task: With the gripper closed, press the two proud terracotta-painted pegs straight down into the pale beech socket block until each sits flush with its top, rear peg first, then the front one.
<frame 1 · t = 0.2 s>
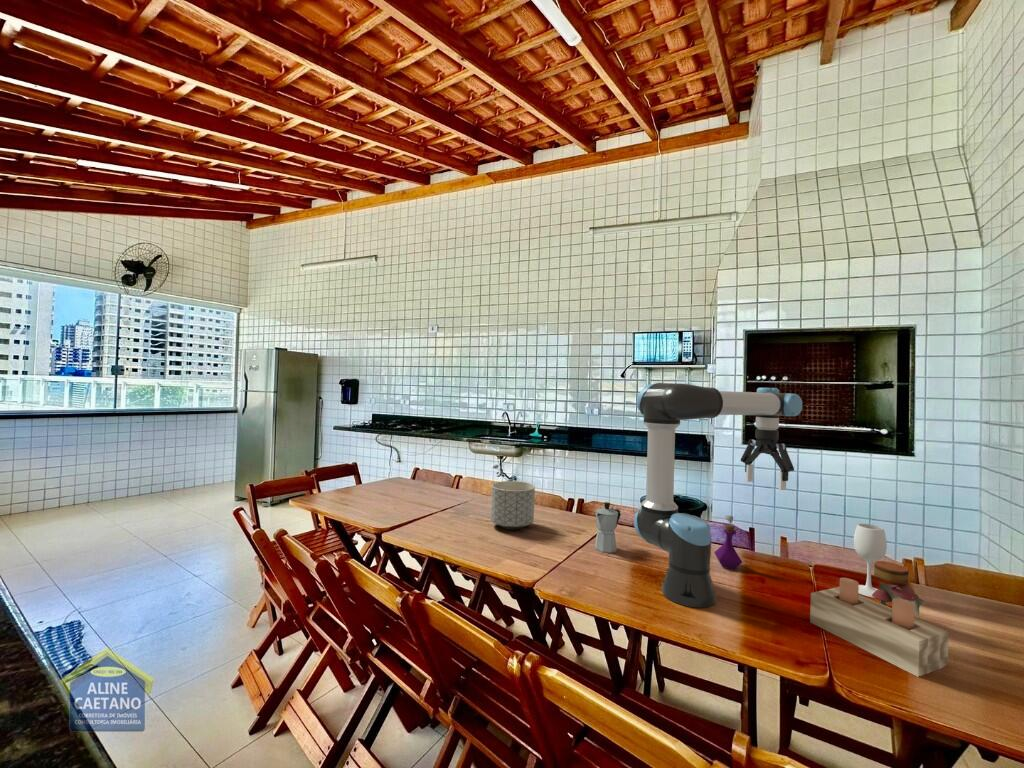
hand: (765, 485, 164), 28 cm above the table, fingers open, 13 cm apart
socket block: (873, 642, 111), on the table
front peg: (902, 616, 106), point 9 cm above the table, slide at 5.0 cm
wineglass: (868, 592, 140), on the table
coffee maker: (607, 548, 171), on the table
planter: (512, 527, 194), on the table
rear peg: (848, 594, 117), point 10 cm above the table, slide at 5.0 cm
perfume bottle: (727, 566, 157), on the table
toy burger: (892, 620, 123), on the table
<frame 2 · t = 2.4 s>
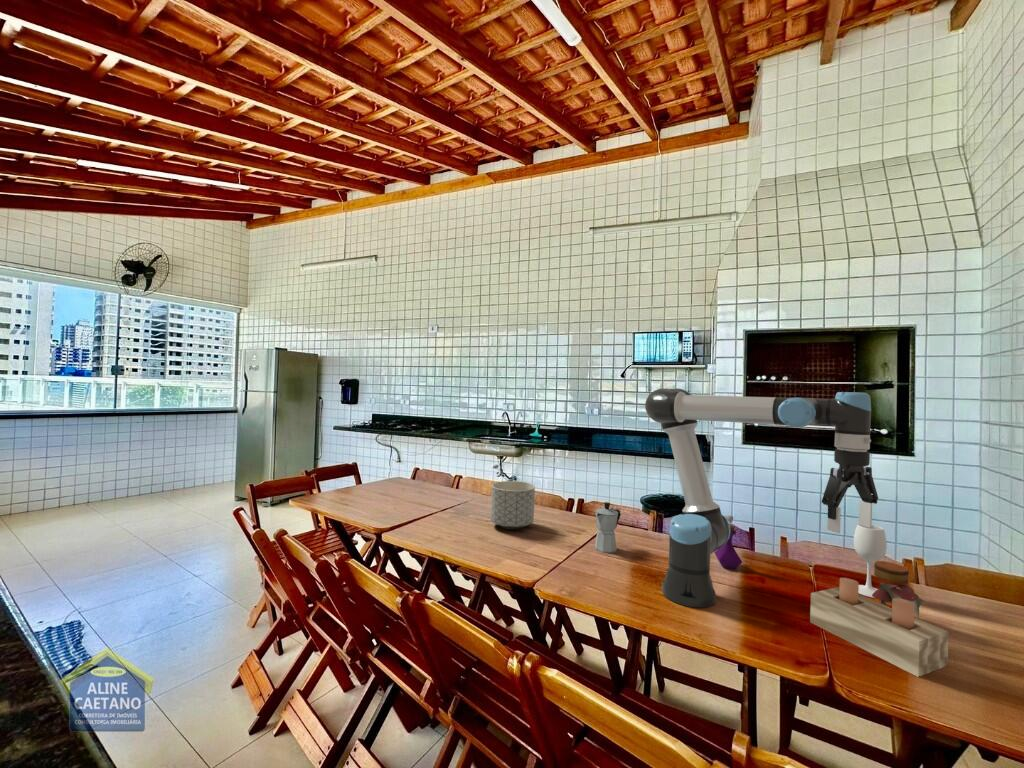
hand: (849, 528, 117), 27 cm above the table, fingers open, 13 cm apart
nothing on the table moved.
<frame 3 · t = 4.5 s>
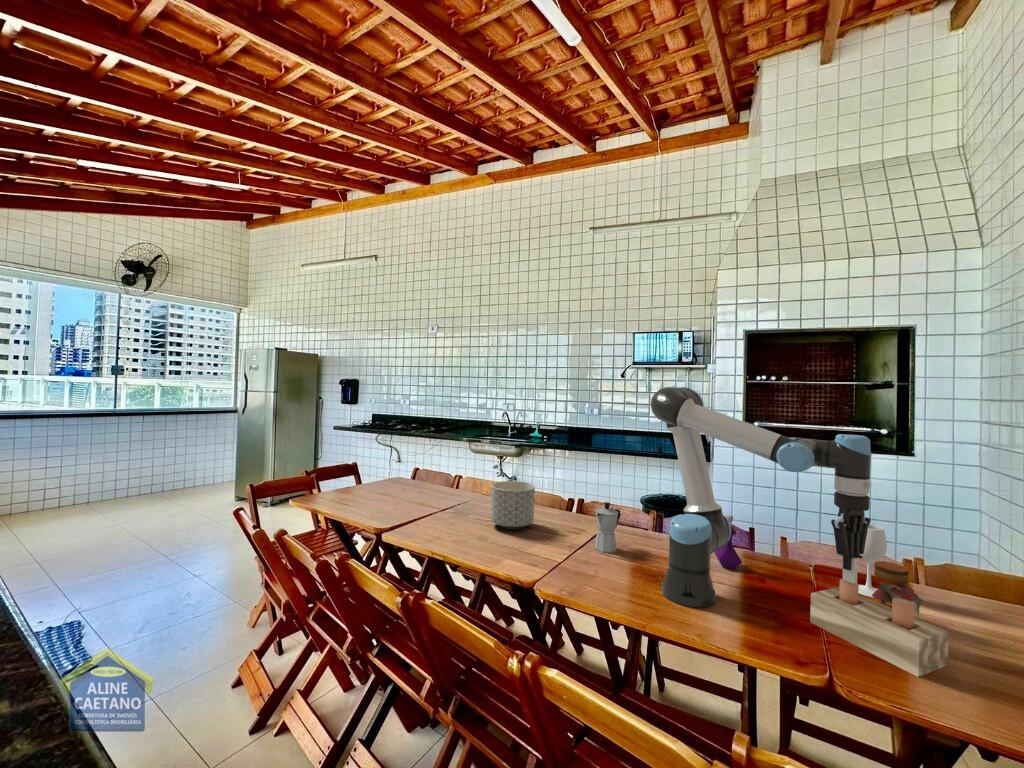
hand: (849, 581, 117), 13 cm above the table, fingers closed
rear peg: (848, 595, 117), point 9 cm above the table, slide at 4.7 cm, touching gripper
everything else where it was.
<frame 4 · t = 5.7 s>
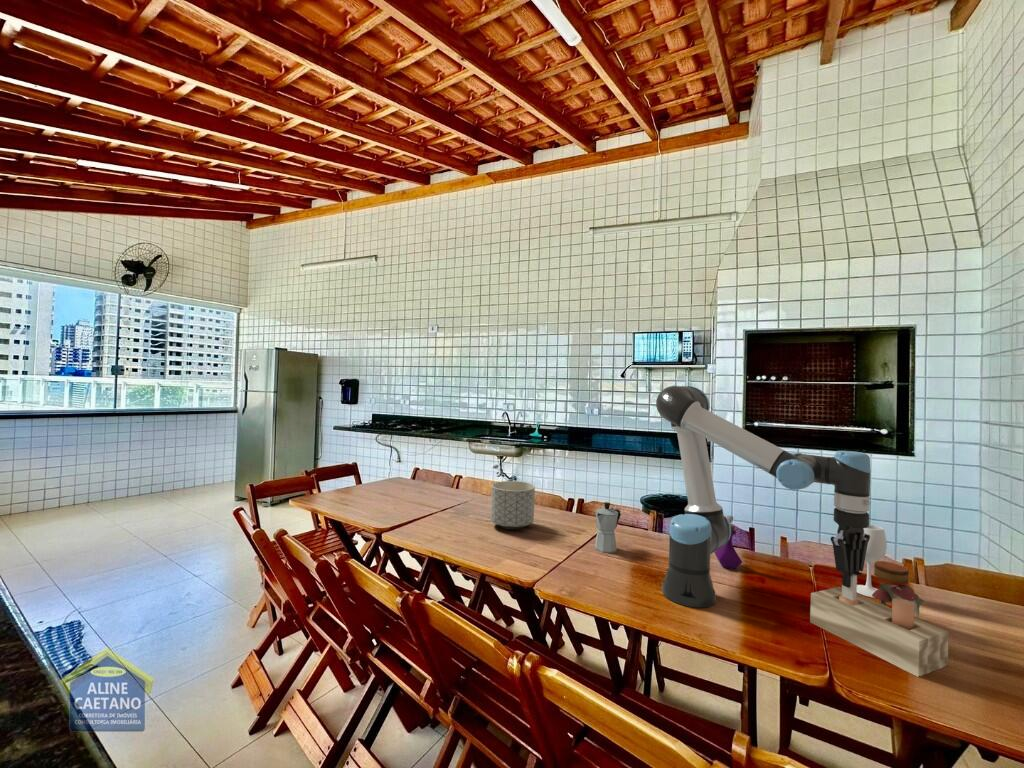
hand: (849, 598, 117), 8 cm above the table, fingers closed
rear peg: (848, 612, 117), point 5 cm above the table, slide at 0.2 cm, touching gripper
everything else where it was.
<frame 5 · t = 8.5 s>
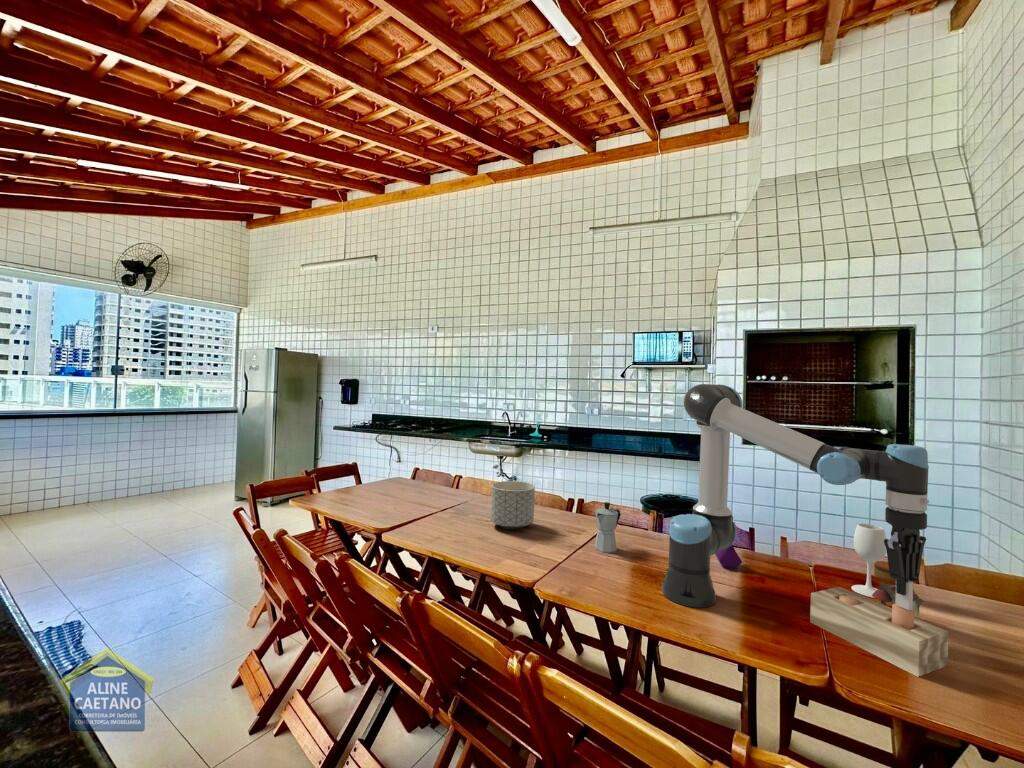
hand: (903, 607, 106), 12 cm above the table, fingers closed
front peg: (902, 622, 106), point 8 cm above the table, slide at 3.6 cm, touching gripper
rear peg: (848, 612, 117), point 5 cm above the table, slide at 0.2 cm
everything else where it was.
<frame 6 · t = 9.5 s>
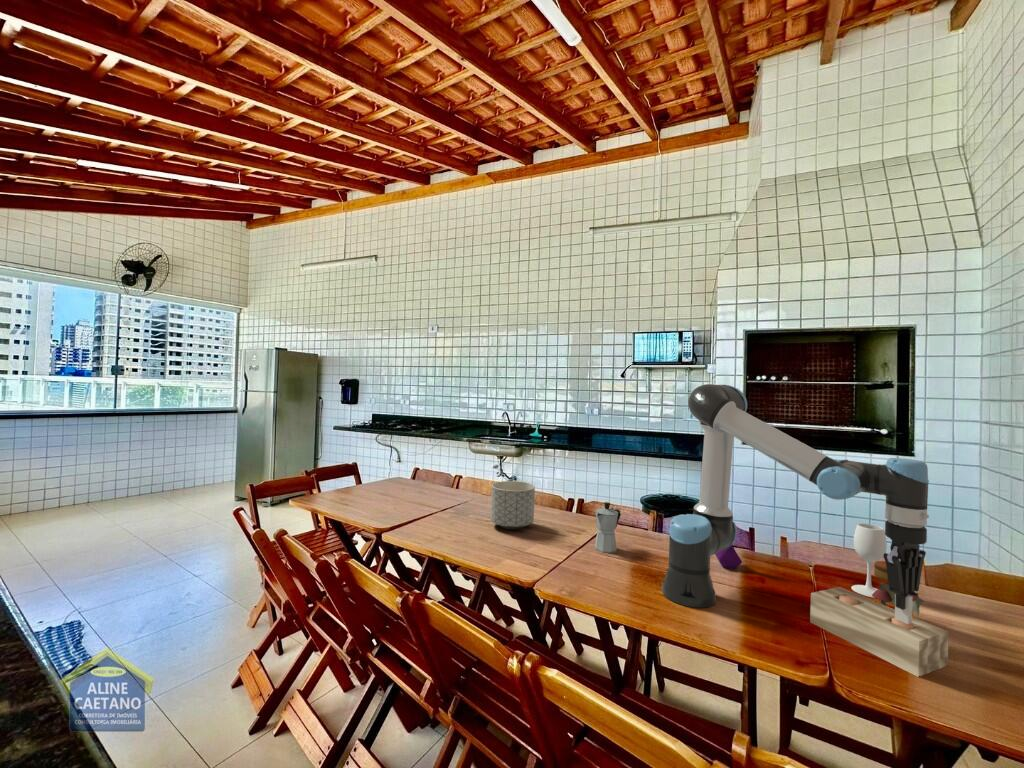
hand: (903, 621, 106), 8 cm above the table, fingers closed
front peg: (902, 636, 106), point 5 cm above the table, slide at 0.2 cm, touching gripper
everything else where it was.
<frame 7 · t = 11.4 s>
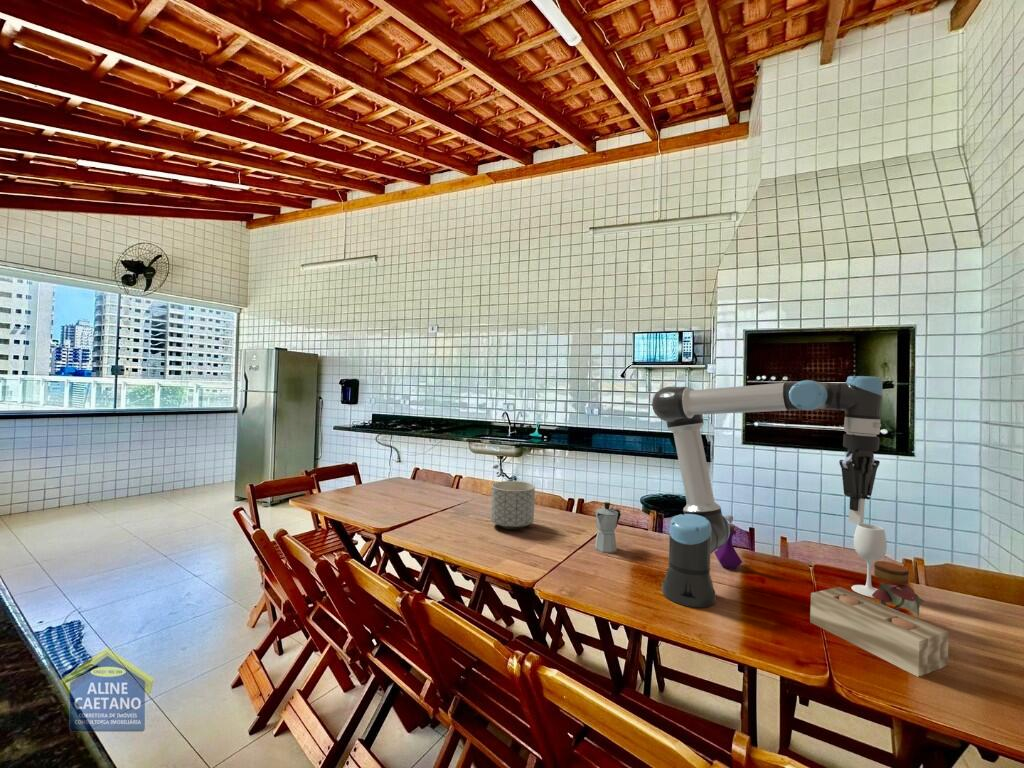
hand: (856, 522, 117), 29 cm above the table, fingers closed
front peg: (902, 636, 106), point 5 cm above the table, slide at 0.2 cm
everything else where it was.
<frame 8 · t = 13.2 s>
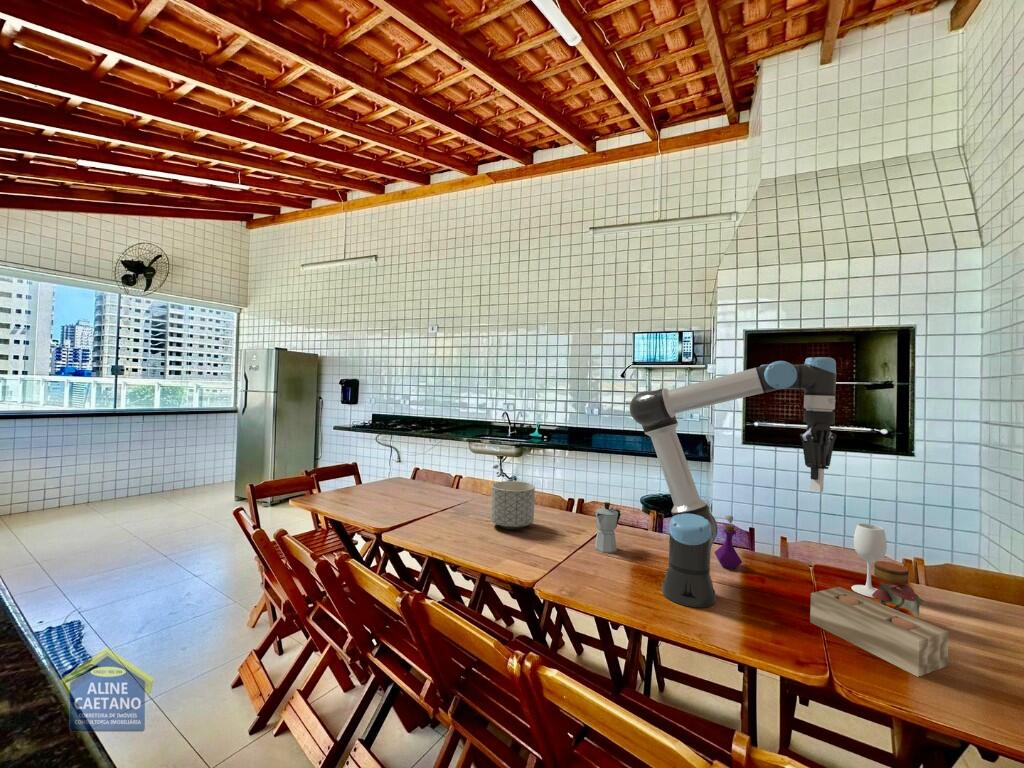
hand: (816, 490, 128), 34 cm above the table, fingers closed
nothing on the table moved.
at the end: rear peg slide at 0.2 cm; front peg slide at 0.2 cm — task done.
